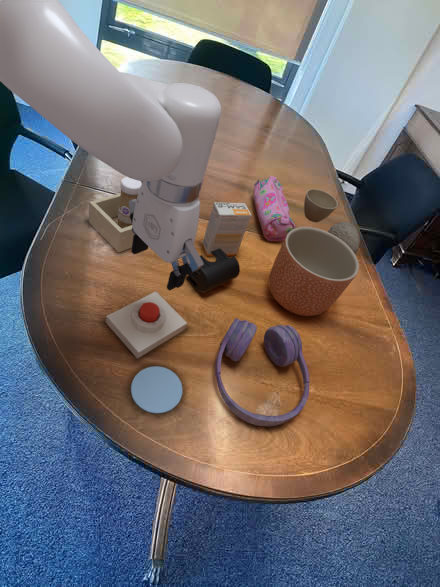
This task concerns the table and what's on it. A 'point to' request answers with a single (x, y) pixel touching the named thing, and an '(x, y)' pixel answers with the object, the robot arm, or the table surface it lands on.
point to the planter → (311, 271)
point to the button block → (145, 325)
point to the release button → (149, 312)
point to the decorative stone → (346, 234)
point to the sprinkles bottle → (127, 200)
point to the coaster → (156, 390)
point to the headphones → (281, 350)
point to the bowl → (318, 205)
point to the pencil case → (272, 209)
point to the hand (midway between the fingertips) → (156, 268)
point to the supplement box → (226, 227)
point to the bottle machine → (110, 222)
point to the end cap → (214, 272)
